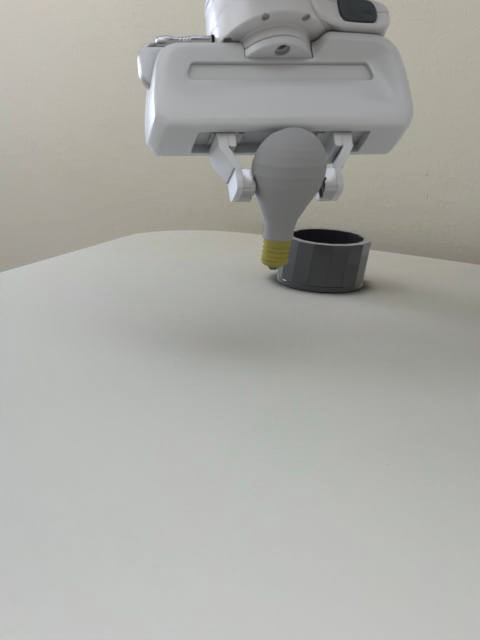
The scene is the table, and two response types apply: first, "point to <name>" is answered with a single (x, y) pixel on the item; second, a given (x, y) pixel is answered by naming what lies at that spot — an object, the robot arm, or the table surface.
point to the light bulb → (286, 186)
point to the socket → (326, 260)
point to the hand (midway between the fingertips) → (287, 196)
